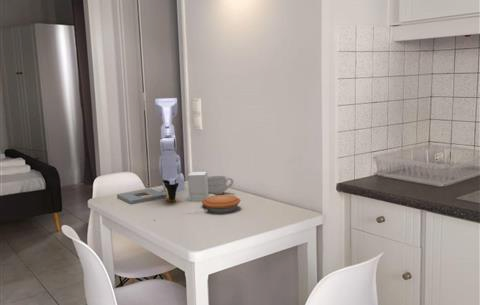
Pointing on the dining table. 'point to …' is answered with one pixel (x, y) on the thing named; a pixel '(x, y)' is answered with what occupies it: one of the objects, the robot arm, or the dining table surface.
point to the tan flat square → (171, 202)
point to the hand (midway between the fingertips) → (171, 198)
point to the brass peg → (168, 197)
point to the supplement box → (198, 186)
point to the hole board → (141, 196)
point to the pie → (221, 203)
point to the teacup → (218, 184)
